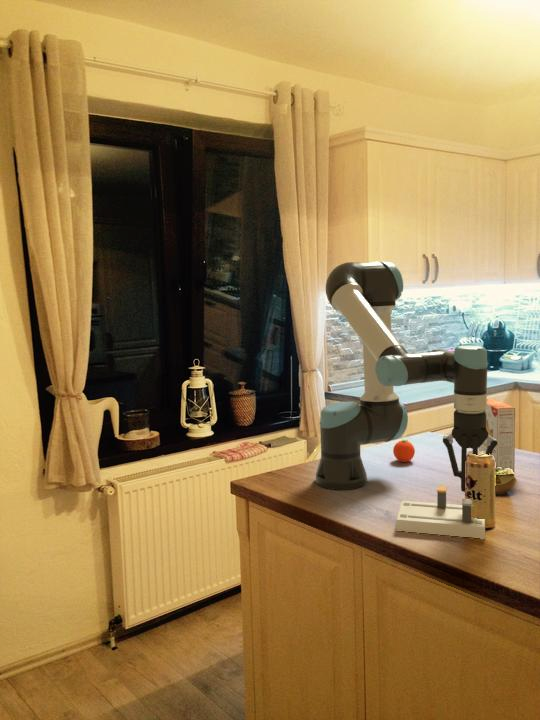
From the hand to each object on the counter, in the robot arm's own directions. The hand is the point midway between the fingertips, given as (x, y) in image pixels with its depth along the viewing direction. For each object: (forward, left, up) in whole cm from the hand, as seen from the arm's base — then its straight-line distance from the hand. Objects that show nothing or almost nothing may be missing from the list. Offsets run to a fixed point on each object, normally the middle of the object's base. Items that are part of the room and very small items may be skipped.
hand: (469, 504), depth 155 cm
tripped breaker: (-6, 0, -1) cm, 7 cm away
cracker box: (+8, +44, -5) cm, 45 cm away
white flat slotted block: (-6, -4, -4) cm, 9 cm away
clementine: (-20, +47, -5) cm, 52 cm away
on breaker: (0, -8, -1) cm, 8 cm away
